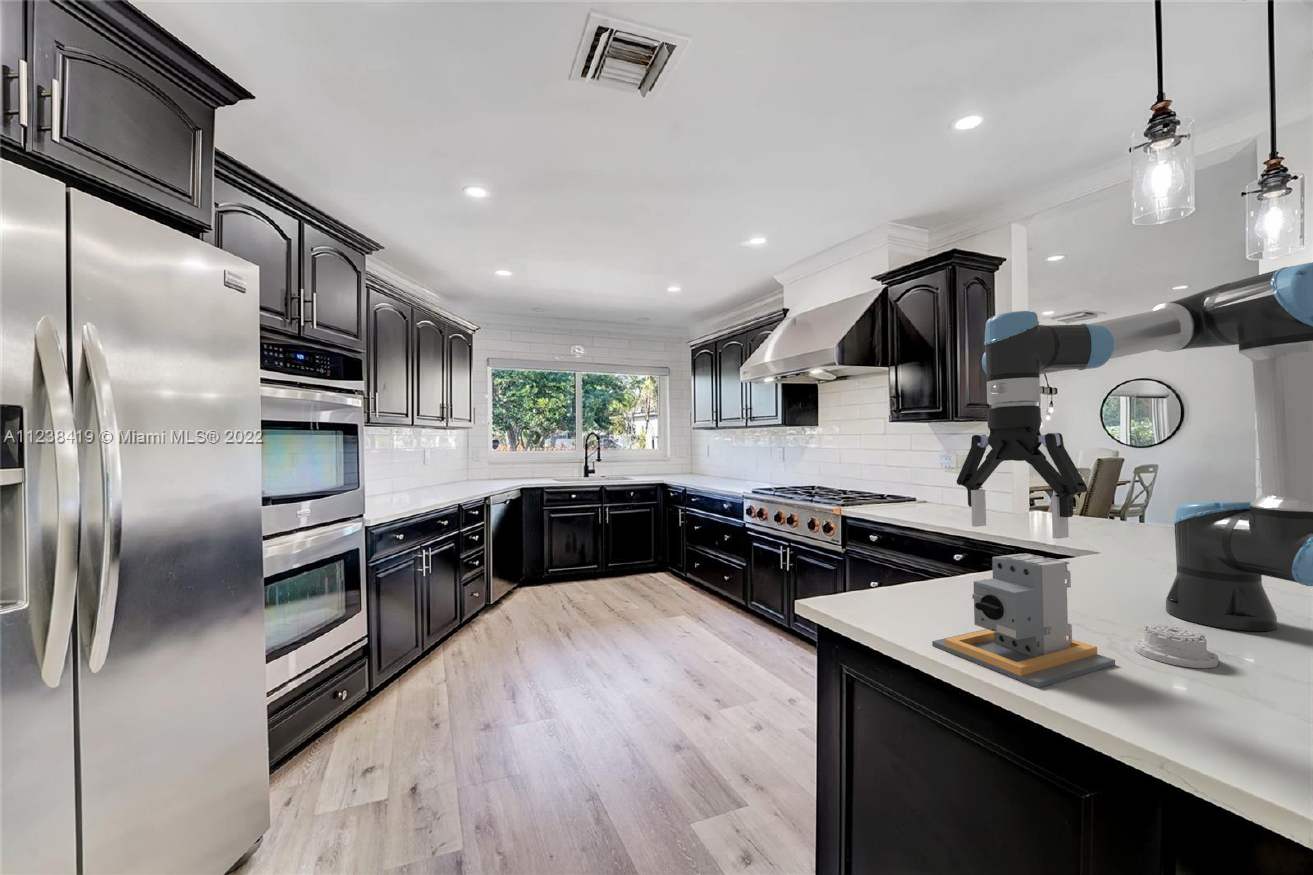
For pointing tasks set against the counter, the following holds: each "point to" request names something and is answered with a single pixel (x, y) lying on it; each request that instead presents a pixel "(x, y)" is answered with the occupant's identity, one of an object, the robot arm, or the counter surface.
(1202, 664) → the mechanical component
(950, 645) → the base
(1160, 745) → the counter surface
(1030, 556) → the circuit breaker
